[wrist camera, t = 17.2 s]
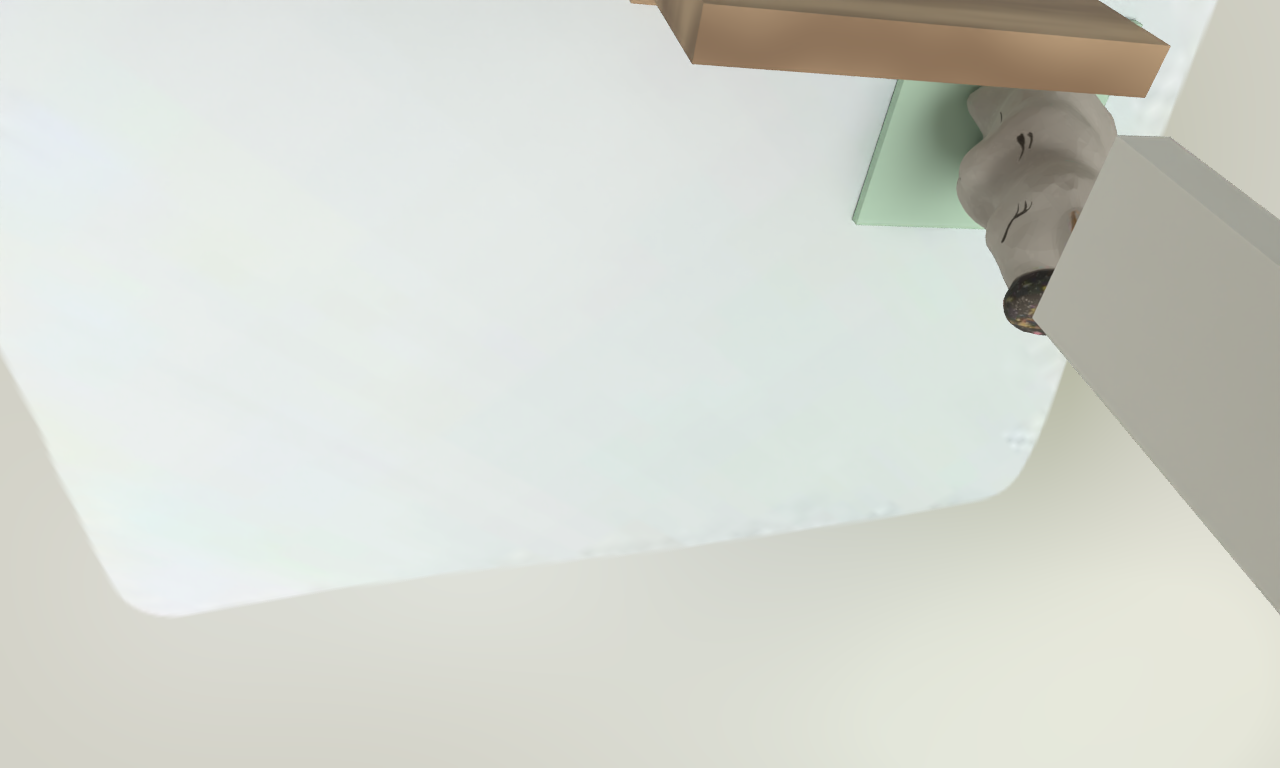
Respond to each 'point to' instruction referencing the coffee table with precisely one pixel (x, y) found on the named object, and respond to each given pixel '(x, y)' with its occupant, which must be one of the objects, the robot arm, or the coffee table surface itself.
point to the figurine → (1031, 182)
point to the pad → (922, 158)
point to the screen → (926, 41)
